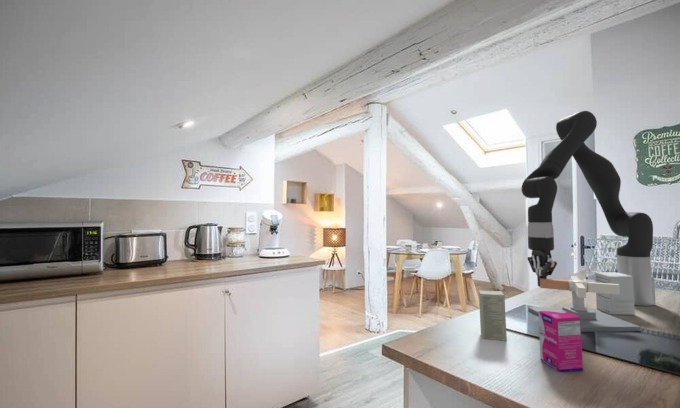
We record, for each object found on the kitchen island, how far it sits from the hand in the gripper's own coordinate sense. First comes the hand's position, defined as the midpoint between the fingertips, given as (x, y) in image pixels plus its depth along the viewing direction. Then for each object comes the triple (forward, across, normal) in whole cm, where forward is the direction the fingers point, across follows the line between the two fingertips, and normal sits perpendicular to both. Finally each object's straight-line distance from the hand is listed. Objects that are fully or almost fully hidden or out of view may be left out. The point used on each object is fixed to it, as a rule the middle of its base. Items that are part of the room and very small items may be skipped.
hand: (542, 286), depth 109 cm
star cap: (-1, +8, +6) cm, 10 cm away
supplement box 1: (+9, +38, -20) cm, 44 cm away
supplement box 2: (+9, 0, +24) cm, 26 cm away
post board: (+8, +8, +6) cm, 13 cm away
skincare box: (+9, +21, -27) cm, 35 cm away
